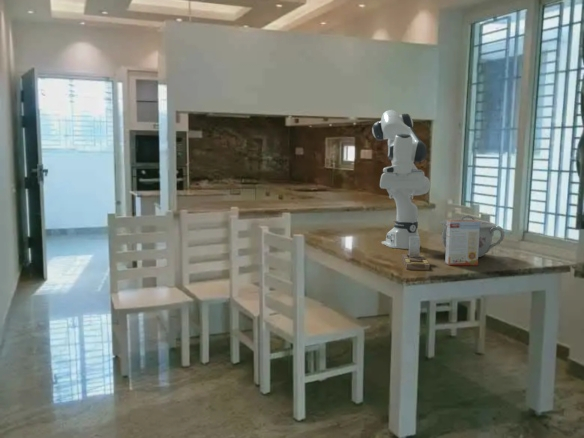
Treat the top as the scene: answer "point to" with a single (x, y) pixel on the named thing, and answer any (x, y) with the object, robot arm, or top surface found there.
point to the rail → (415, 262)
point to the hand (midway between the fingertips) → (401, 198)
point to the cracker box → (462, 242)
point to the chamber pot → (484, 234)
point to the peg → (414, 246)
